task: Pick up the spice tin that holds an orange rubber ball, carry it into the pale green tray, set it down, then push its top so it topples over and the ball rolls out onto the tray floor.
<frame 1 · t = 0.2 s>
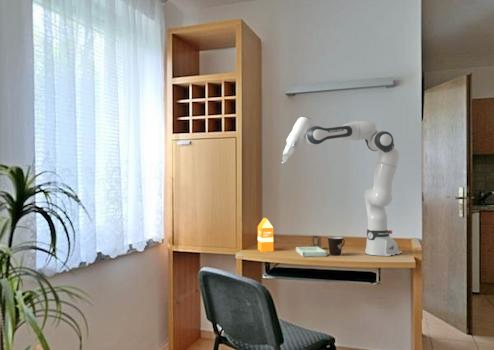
hand: (282, 162, 248), 54 cm above the table, tool tilted 30°, fingers open, 8 cm apart
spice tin: (315, 249, 267), on the table, touching ball
orange juice: (265, 250, 262), on the table
coffee mug: (337, 255, 247), on the table
tray: (310, 253, 251), on the table
ball: (315, 246, 267), point 2 cm above the table, touching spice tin
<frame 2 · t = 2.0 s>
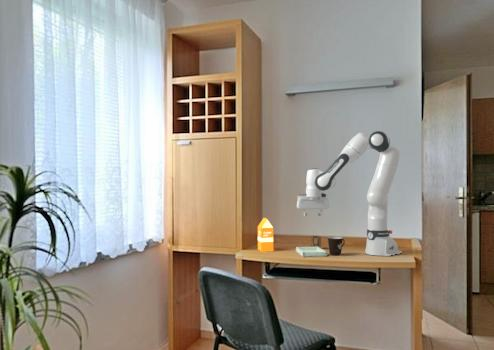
hand: (312, 216, 267), 21 cm above the table, tool pointing down, fingers open, 8 cm apart
nothing on the table moved.
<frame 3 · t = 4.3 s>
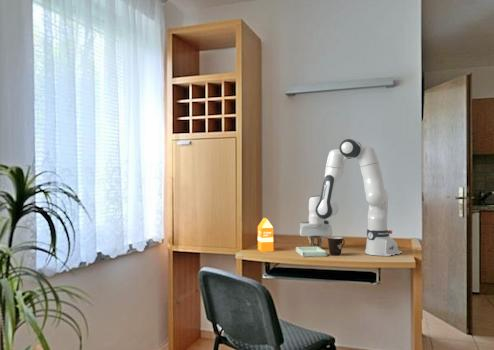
hand: (315, 243, 267), 4 cm above the table, tool pointing down, fingers closed on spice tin, 5 cm apart
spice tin: (315, 248, 267), on the table, touching ball, gripper
ball: (315, 245, 268), point 2 cm above the table, tilted 19°, touching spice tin
everything else where it was.
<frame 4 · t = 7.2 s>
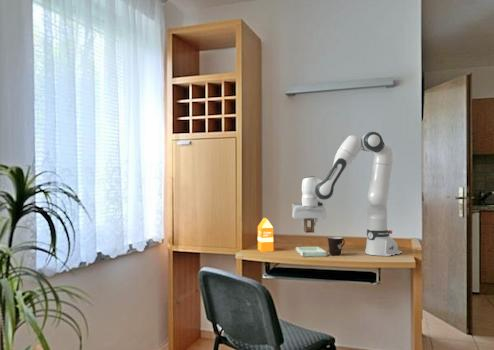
hand: (309, 226, 255), 16 cm above the table, tool pointing down, fingers closed on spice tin, 5 cm apart
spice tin: (309, 232, 255), point 12 cm above the table, touching ball, gripper
ball: (308, 229, 255), point 14 cm above the table, touching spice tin
everything else where it was.
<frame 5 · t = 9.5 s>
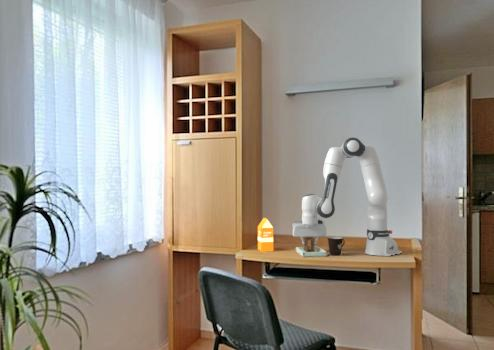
hand: (309, 244, 255), 5 cm above the table, tool pointing down, fingers open, 5 cm apart
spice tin: (309, 251, 255), point 1 cm above the table, touching ball, tray
ball: (309, 248, 255), point 2 cm above the table, tilted 20°, touching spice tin
everything else where it was.
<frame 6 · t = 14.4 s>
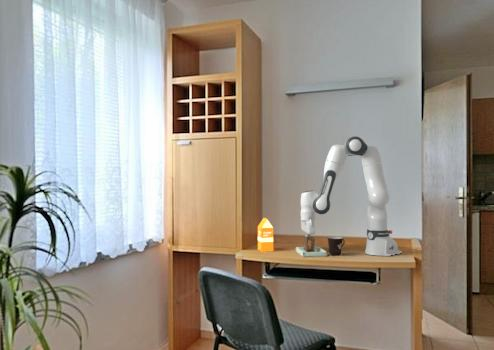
hand: (307, 239, 259), 7 cm above the table, tool pointing down, fingers closed
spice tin: (309, 251, 255), point 1 cm above the table, touching ball, gripper, tray
everything else where it was.
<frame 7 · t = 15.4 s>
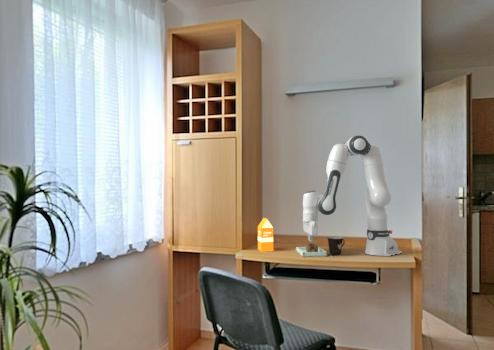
hand: (310, 241, 252), 7 cm above the table, tool pointing down, fingers closed
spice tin: (310, 247, 253), point 3 cm above the table, tilted 90°, touching tray
ball: (312, 251, 247), point 2 cm above the table, tilted 93°, touching tray
everything else where it was.
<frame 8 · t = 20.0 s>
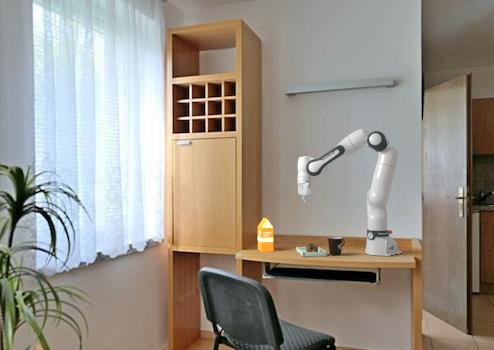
hand: (304, 202, 271), 29 cm above the table, tool pointing down, fingers closed
ball: (312, 251, 247), point 2 cm above the table, tilted 74°, touching tray
everything else where it was.
at the end: ball inside the target area on the tray (4.5 cm from its centre), point 2.0 cm above the tray's base; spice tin tilted 90° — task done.
